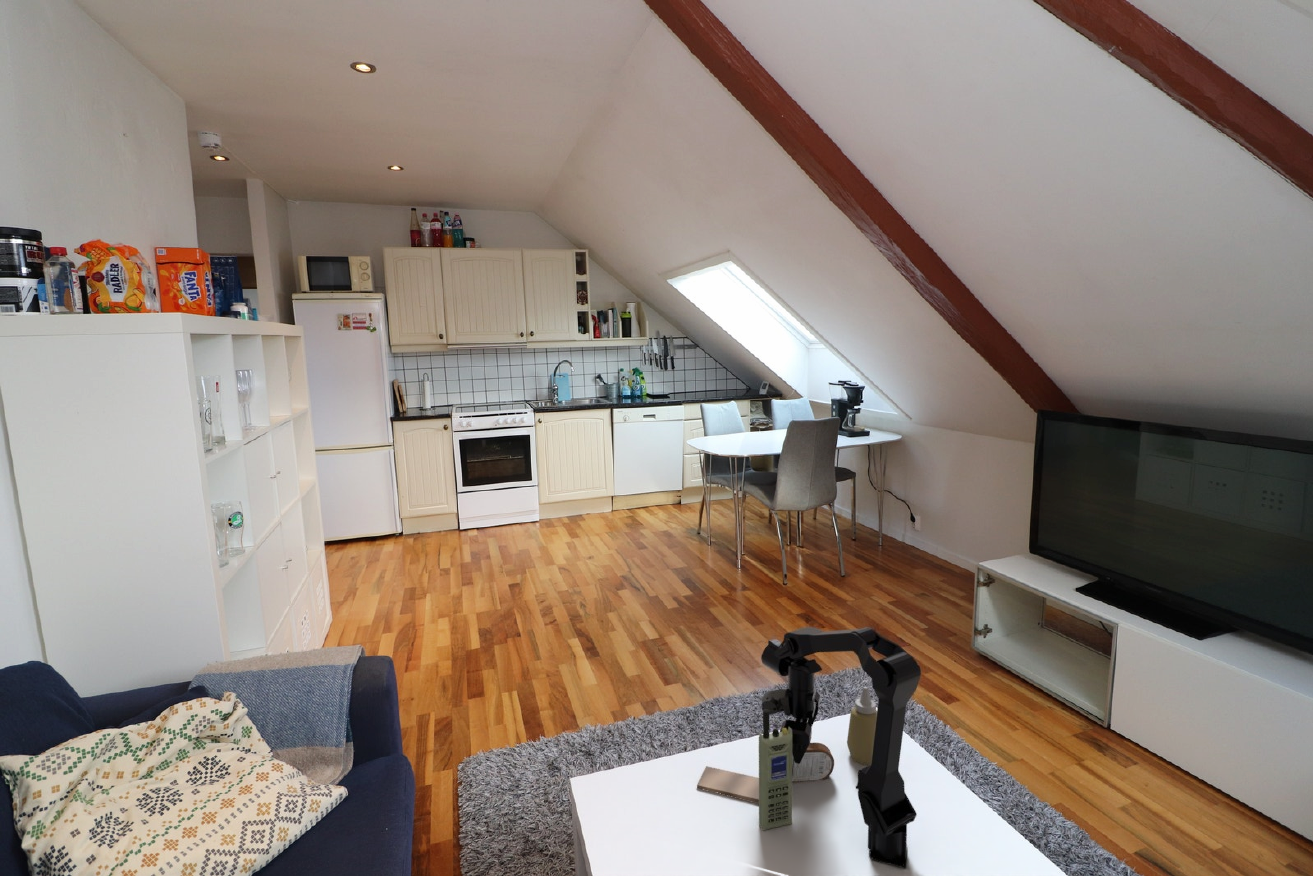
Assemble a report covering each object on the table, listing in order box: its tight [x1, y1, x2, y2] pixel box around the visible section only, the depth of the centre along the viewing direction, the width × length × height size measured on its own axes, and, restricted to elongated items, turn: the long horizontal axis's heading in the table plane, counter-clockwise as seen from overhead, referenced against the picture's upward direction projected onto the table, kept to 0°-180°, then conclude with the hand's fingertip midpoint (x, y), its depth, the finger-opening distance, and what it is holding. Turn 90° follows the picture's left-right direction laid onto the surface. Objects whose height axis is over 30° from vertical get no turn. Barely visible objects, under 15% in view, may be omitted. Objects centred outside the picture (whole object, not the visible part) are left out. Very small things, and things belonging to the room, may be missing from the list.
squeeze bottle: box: [846, 686, 877, 766], centre depth 148 cm, size 8×8×18 cm
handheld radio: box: [758, 709, 793, 831], centre depth 128 cm, size 7×3×25 cm, turn 105°
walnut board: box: [696, 765, 759, 804], centre depth 140 cm, size 16×7×1 cm, turn 69°
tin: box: [792, 742, 835, 784], centre depth 141 cm, size 15×3×8 cm, turn 96°
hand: (800, 751), depth 141 cm, fingers open, 9 cm apart
